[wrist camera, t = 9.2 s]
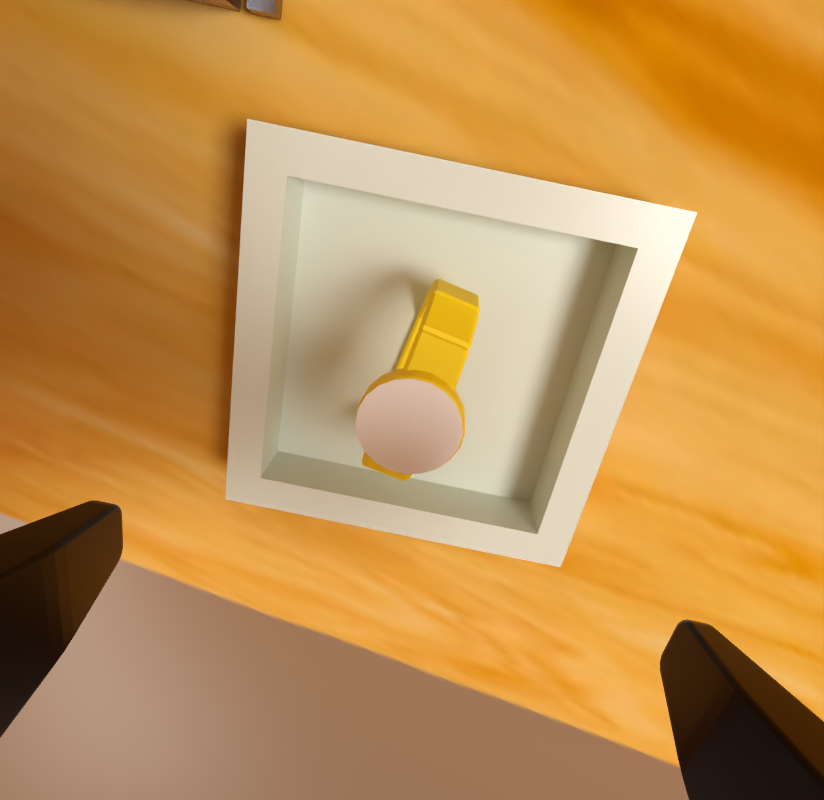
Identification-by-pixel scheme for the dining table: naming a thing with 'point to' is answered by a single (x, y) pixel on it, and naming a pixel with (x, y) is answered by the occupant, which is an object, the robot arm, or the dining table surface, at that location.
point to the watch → (421, 390)
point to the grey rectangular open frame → (250, 6)
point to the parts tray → (394, 319)
